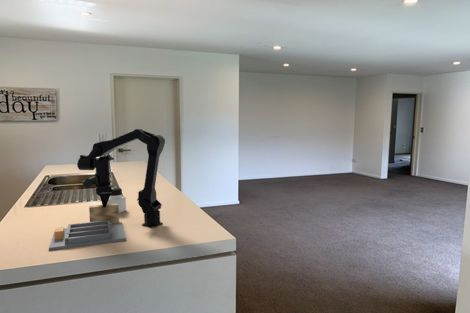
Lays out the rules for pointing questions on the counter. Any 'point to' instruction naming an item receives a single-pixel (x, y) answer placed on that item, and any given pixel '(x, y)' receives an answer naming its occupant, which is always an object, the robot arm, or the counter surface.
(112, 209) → the oak divider
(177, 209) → the counter surface
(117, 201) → the medicine bottle
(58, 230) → the slotted rack
